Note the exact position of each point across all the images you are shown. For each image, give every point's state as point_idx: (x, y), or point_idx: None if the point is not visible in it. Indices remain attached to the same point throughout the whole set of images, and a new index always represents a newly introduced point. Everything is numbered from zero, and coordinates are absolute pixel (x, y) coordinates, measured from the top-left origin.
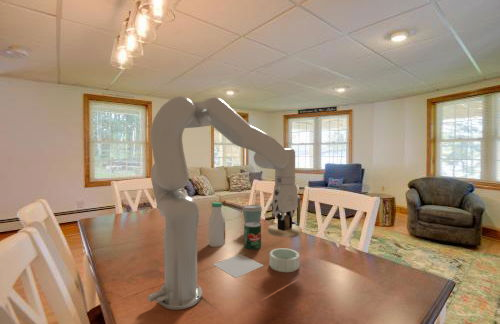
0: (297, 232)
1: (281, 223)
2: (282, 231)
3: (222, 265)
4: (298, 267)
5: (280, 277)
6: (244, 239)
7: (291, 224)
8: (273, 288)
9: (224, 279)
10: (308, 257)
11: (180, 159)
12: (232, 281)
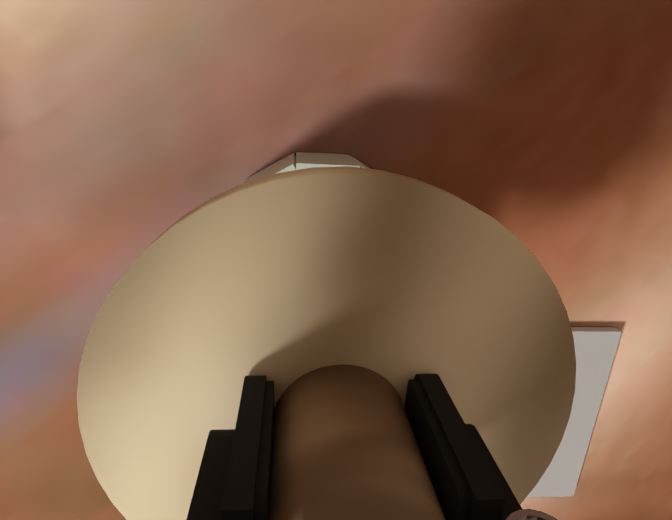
0: (361, 192)
1: (499, 475)
2: (467, 368)
3: (556, 462)
4: (278, 162)
5: (451, 177)
6: None
7: (256, 409)
8: (581, 127)
9: (642, 363)
10: (63, 216)
11: None
12: (638, 325)
